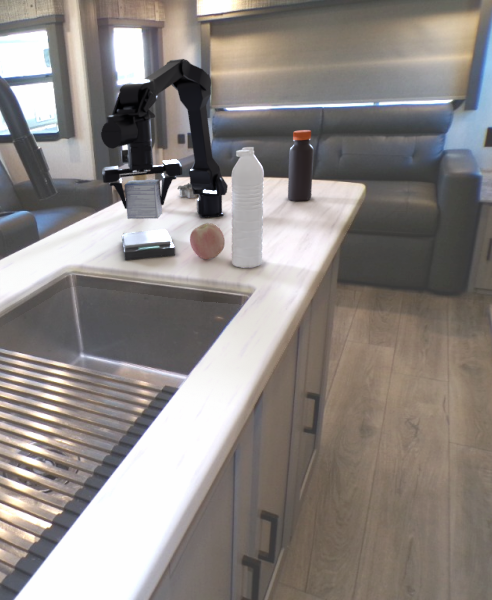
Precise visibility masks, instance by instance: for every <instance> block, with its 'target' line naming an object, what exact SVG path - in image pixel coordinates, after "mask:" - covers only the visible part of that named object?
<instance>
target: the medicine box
mask: <svg viewBox="0 0 492 600" xmlns="http://www.w3.org/2000/svg"><path fill="white" fill-rule="evenodd" d="M123 188H124V195H125V200H126V206H127V209H126V217H127V218H126V219H128V220H138V219H139V220H141V219H143V220H146V219H147V220H148V219H150V220H151V219H159V218H160V216H161V215H163V205H162V204H161V181H160V179H147V180H135V181H133V180H129V181H127V182H126V183H125V184H124V186H123Z"/></svg>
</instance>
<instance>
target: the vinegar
mask: <svg viewBox="0 0 492 600" xmlns="http://www.w3.org/2000/svg"><path fill="white" fill-rule="evenodd" d="M311 139H312V130H310V129H300V130H295V131H293V134H292V142H293V145H292V146H291V147H290V148H289V152H288V153H289V154H288V157H289V158H288V179H287V180H288V181H287V182H288V183H287V184H288V185H287V186H288V187H287V199H288V200H289V201H291V202H292V201H293V202H305V201H309V200H311V198H312V191H313V190H312V189H313V188H312V186H313V171H314V170H313V167H314V151H315V149H314V147H313V146H312V145H311V143H310V141H311Z"/></svg>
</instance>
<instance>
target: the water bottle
mask: <svg viewBox="0 0 492 600" xmlns="http://www.w3.org/2000/svg"><path fill="white" fill-rule="evenodd" d="M254 149H255V147H254V146H246V147H245V146H244V147H242V148H241V149H238V150H236V151H235V157H237V158H238V157H239V158H238V160H237V161H236V163H235V165H234V166H233V168H232V169H231V170H232V171H231V177H230V178H231V264H232V265H233V266H234V267H237V268H242V269H248V268H249V269H252V268H253V269H254V268H256V267H259V266H261V265H262V263H263V232H264V231H263V230H264V228H263V225H264V218H263V217H264V177H265V171H264V167H263V165H262V164H261V162H260V161H259V159H258V158H257V157H256V155H255V150H254Z"/></svg>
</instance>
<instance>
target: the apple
mask: <svg viewBox="0 0 492 600" xmlns="http://www.w3.org/2000/svg"><path fill="white" fill-rule="evenodd" d="M189 243H190V247H191V249H192V251H193V253H194V254H195V255H196V256H197V257H198V258H200V259H202V260H212V259H215V258H217V256H219V255H220V254H221V253H222V252H223V250H224V248H225V244H226V241H225V235H224V233H223V231H222V229H221V228H220V227H219V226H218V225H217V224H215V223H212V222H211V223H210V222H206V223H203V224H201V225H199V226H197V227H195V228H194V229H193V230H192V231H191V233H190V236H189Z"/></svg>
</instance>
